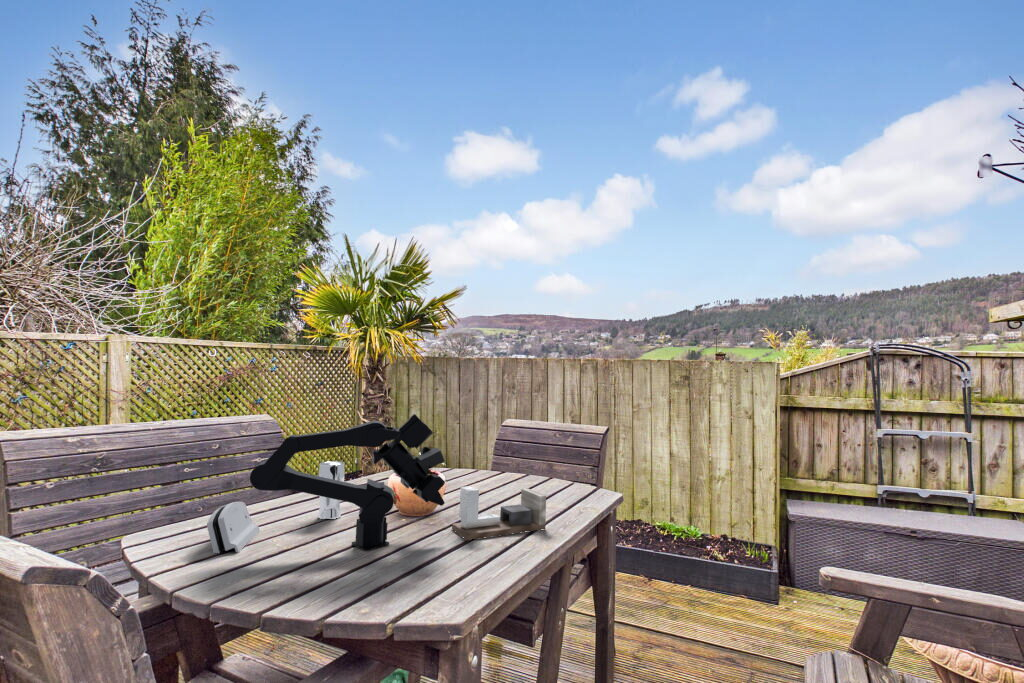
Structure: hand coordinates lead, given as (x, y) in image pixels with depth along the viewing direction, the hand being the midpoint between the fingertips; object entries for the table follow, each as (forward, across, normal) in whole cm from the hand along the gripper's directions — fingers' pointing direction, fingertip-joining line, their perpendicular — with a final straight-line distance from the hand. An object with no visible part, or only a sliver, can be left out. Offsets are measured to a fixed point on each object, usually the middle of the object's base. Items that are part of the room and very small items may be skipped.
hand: (443, 504), depth 128 cm
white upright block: (-10, +29, +22) cm, 38 cm away
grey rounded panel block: (-27, +16, +39) cm, 50 cm away
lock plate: (+17, +1, -6) cm, 18 cm away
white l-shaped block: (+12, 0, -3) cm, 13 cm away
